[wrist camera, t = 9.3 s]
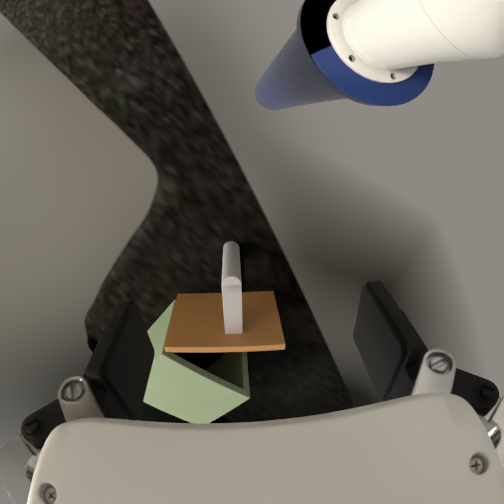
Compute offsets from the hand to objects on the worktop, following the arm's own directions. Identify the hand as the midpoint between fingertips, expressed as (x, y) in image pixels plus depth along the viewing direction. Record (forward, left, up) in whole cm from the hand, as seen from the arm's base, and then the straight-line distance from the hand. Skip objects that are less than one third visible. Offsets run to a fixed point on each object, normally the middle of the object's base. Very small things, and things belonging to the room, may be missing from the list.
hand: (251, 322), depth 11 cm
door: (+8, +5, -24) cm, 26 cm away
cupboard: (+21, +9, -24) cm, 33 cm away
